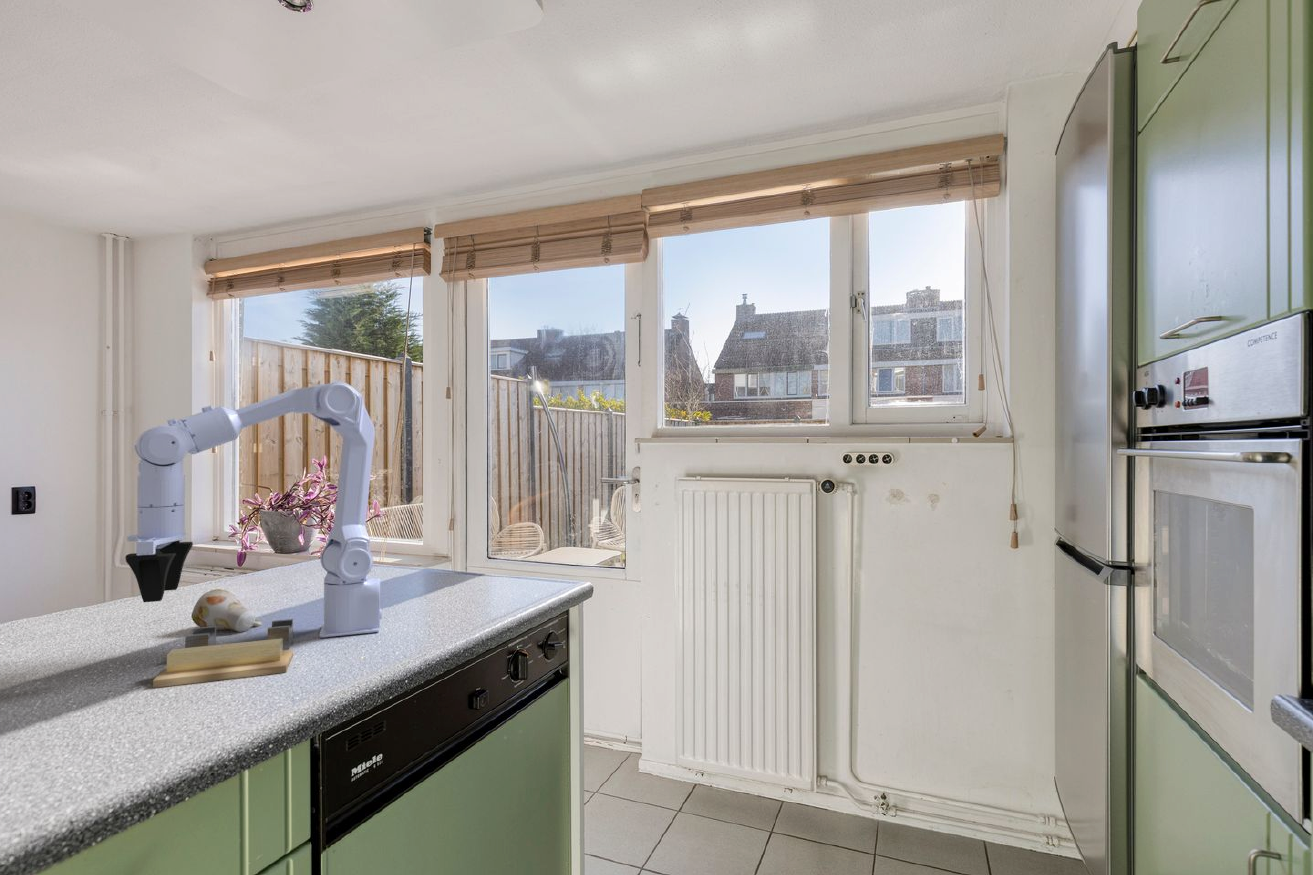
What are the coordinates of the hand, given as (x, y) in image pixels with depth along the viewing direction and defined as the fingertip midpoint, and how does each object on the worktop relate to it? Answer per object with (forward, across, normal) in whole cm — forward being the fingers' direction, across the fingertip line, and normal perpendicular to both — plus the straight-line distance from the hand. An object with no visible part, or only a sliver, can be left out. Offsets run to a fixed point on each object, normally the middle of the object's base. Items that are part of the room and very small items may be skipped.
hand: (160, 595), depth 99 cm
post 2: (+10, -3, +16) cm, 19 cm away
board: (+10, +7, +10) cm, 16 cm away
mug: (+11, -18, +6) cm, 21 cm away
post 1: (+10, -3, +4) cm, 12 cm away
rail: (+9, +7, +10) cm, 15 cm away
